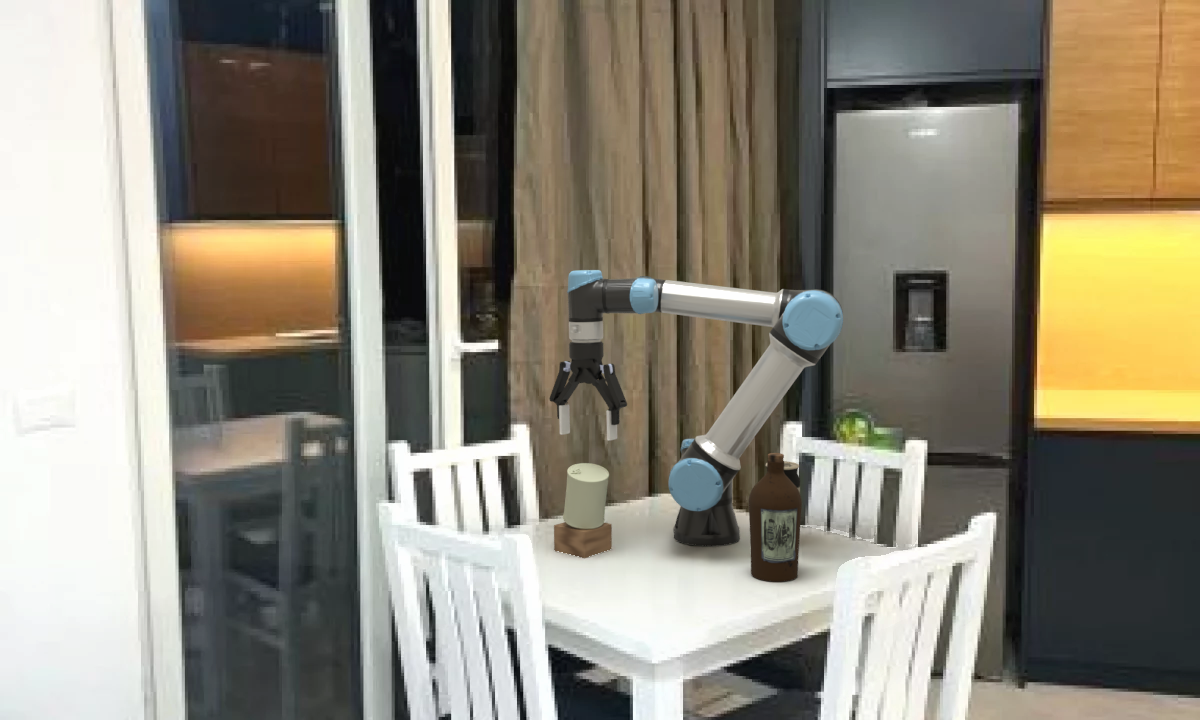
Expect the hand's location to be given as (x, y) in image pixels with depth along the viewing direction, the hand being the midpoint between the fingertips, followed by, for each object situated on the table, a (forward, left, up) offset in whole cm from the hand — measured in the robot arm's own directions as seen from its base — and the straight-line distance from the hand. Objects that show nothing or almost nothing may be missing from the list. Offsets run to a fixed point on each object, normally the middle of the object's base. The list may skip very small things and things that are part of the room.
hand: (588, 436), depth 237 cm
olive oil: (-42, -9, -25) cm, 50 cm away
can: (-1, +2, -18) cm, 18 cm away
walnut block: (-1, +2, -25) cm, 25 cm away
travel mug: (-30, -31, -25) cm, 50 cm away
